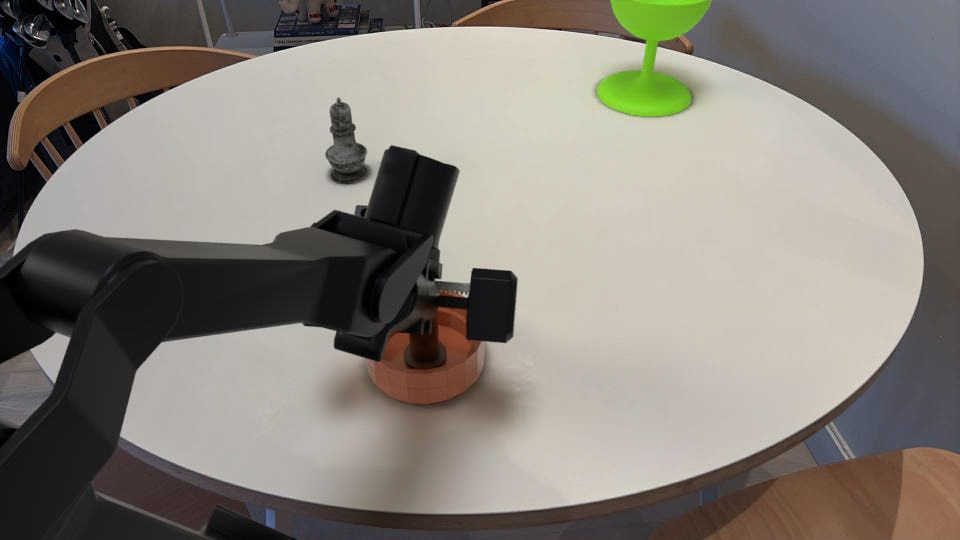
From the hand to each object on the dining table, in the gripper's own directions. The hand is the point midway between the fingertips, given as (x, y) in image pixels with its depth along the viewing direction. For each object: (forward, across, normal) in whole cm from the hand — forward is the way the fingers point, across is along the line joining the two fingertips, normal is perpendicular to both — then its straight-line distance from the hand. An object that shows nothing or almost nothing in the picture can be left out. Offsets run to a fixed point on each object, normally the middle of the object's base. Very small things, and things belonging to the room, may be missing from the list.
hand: (424, 302), depth 69 cm
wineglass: (+50, -26, -40) cm, 70 cm away
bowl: (+5, 0, +6) cm, 8 cm away
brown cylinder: (+4, 0, +6) cm, 7 cm away
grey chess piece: (+29, +17, -18) cm, 38 cm away
